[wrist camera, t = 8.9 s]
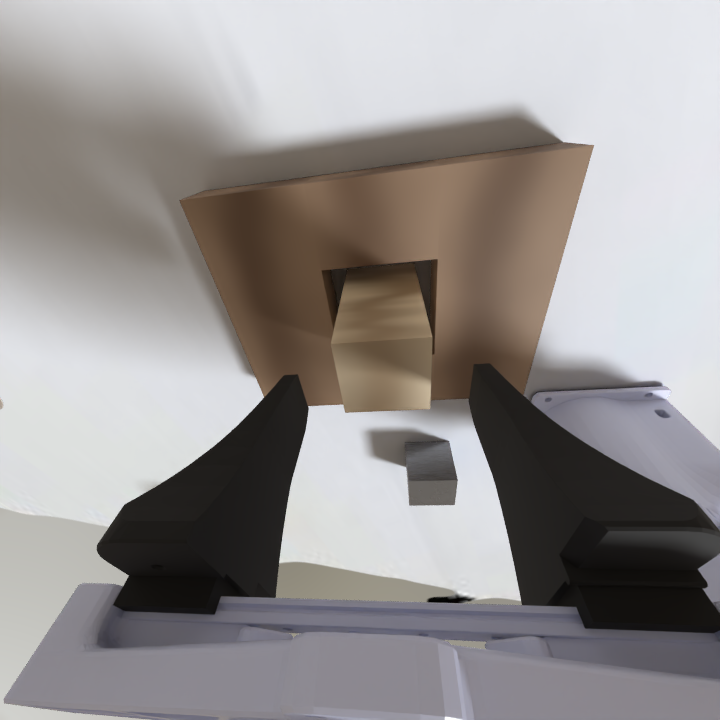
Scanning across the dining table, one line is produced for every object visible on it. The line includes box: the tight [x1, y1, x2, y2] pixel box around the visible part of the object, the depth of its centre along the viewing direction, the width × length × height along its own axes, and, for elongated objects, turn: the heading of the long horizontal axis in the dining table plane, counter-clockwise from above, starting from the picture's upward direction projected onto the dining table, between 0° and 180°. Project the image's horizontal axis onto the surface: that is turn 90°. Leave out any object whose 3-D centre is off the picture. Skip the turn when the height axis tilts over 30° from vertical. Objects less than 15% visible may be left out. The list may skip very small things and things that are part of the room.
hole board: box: [179, 142, 594, 406], centre depth 18 cm, size 18×14×2 cm
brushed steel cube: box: [405, 441, 458, 505], centre depth 28 cm, size 4×4×4 cm
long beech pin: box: [331, 263, 433, 413], centre depth 16 cm, size 4×4×8 cm
